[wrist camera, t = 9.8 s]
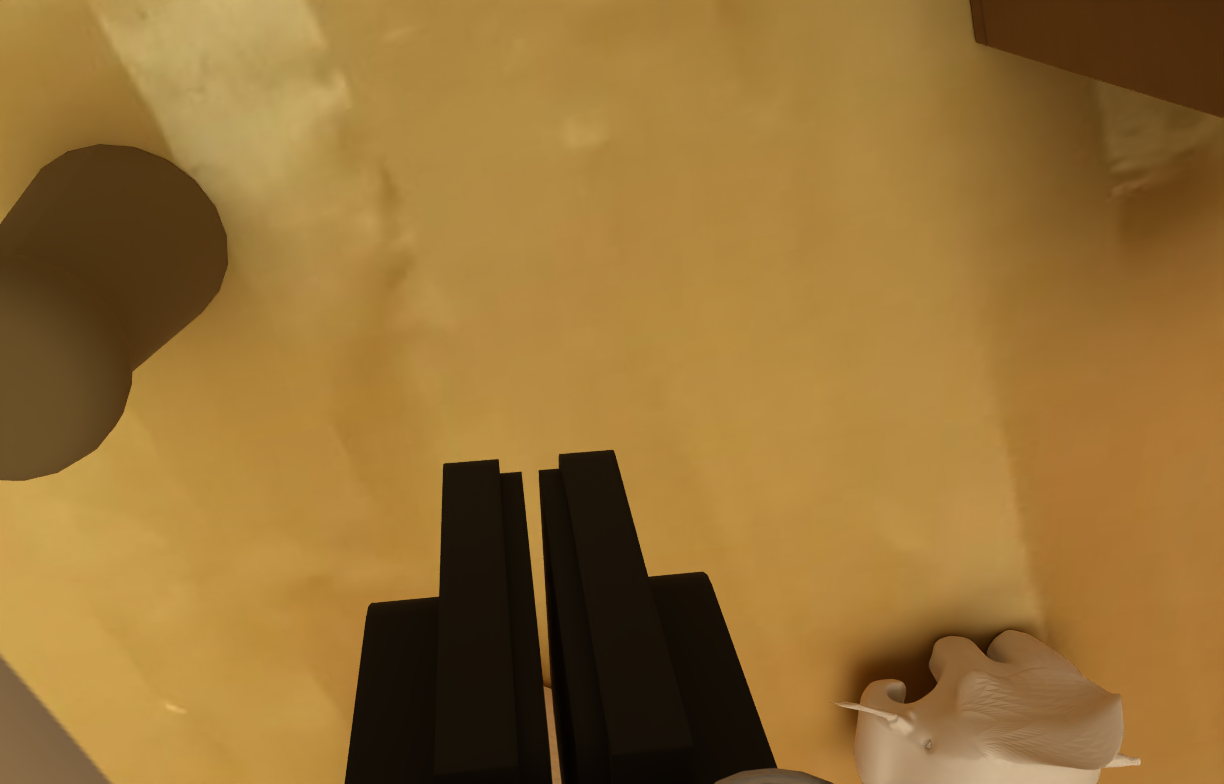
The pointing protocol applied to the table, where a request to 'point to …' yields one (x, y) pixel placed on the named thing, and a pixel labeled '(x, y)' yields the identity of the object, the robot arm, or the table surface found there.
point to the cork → (94, 295)
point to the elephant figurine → (990, 720)
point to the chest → (1118, 43)
